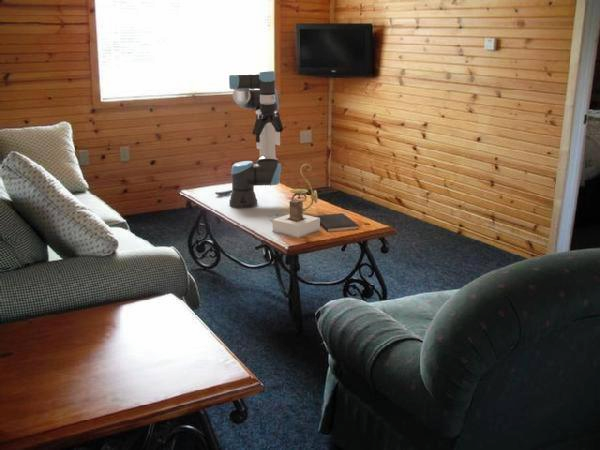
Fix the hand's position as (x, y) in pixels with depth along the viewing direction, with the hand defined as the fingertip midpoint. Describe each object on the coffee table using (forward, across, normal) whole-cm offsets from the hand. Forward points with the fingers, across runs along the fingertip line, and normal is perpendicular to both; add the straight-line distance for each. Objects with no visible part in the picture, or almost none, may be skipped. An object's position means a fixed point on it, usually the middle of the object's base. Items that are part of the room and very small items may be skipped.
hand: (268, 146), depth 345 cm
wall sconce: (+37, +23, -3) cm, 44 cm away
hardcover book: (+38, +13, -31) cm, 51 cm away
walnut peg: (+36, -8, -24) cm, 44 cm away
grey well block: (+37, -8, -24) cm, 45 cm away
